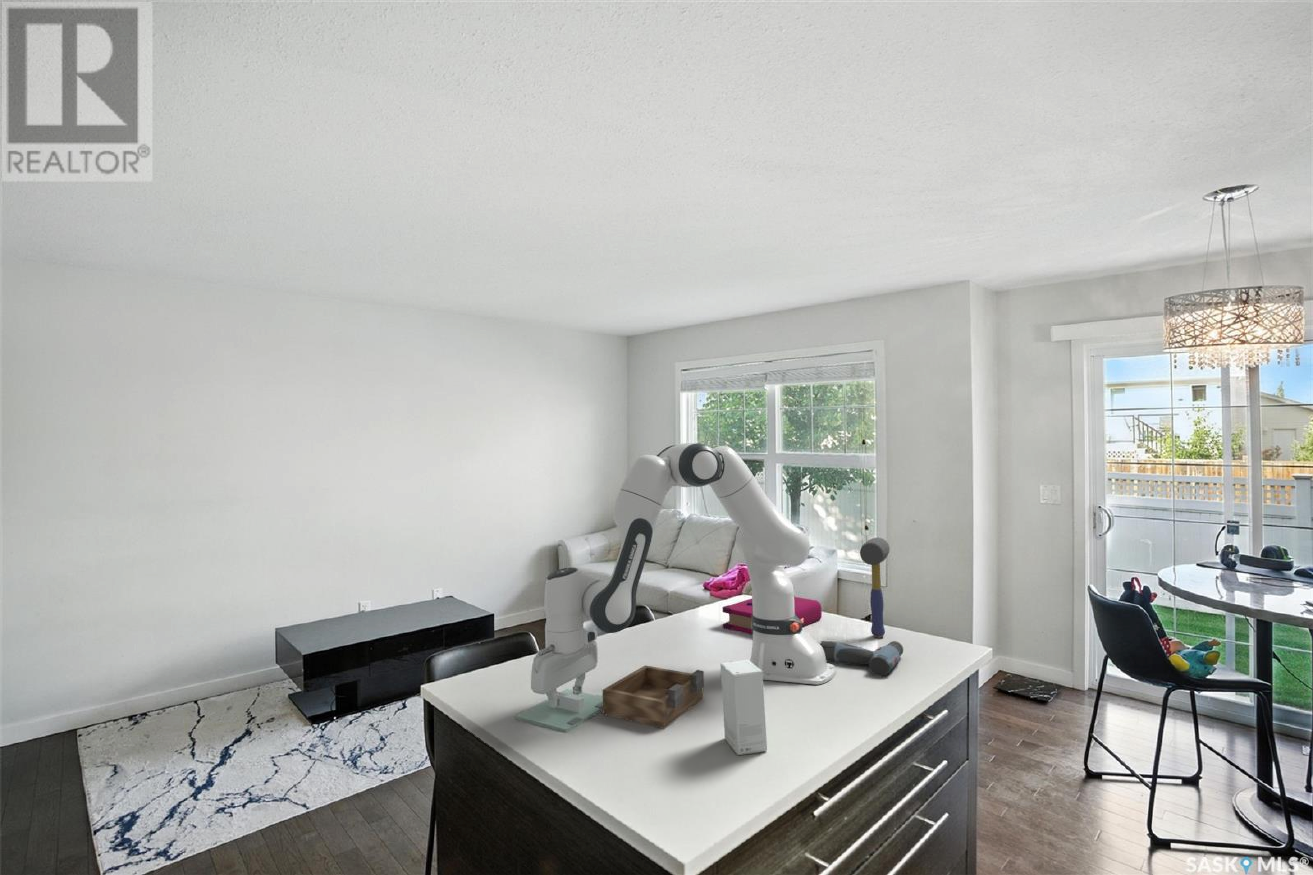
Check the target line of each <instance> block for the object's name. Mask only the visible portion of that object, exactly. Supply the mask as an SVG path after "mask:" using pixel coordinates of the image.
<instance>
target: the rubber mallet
mask: <svg viewBox="0 0 1313 875" xmlns="http://www.w3.org/2000/svg"><path fill="white" fill-rule="evenodd" d="M859 551H860V552H859V556H860V558H861V560H862V561H863V562H864V563H865V564H867V565H869V566H871V591H870V600H869V601H870V611H871V628H870V633H871V634H872V636H873V637H874V638H879V639H881V638H883V637H884V635H885V633H886V630H885V625H884V606H885V604H884V595H883V591H882V581H881V563H883V562H884V561H885V560H886V559H887V557H888V556H889V553H890V545H889V543H888V541H886V539H884V538H882V537H873V538H870V539H868V540H866V541H865V542H864V544H862V546H861V548H860V550H859Z"/></svg>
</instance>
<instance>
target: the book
mask: <svg viewBox="0 0 1313 875" xmlns="http://www.w3.org/2000/svg"><path fill="white" fill-rule="evenodd" d="M794 609H795V615H796V616H797V617H798V618H799V619H800V620H801V619H802V618H804V619H803V621H804V622H803V623H802V628H803V627H805V626H808V625H810V624H813V623H816V622H817V621H820V620H821V619H822V617H823V616H822V614H823V613H822V612H823V611H822V610H823V609H822V604H821V603H820V601H819V600H815V599H812V598H811V599H810V598H803V597H798V596H794ZM721 610H722V612H723V613H725V614H728V616H729V618H728V621H727V622H724V623H722V627H723V629H726V630H730V631H735V632H739V633H744V634H748V635H752V629H751V616H752V614H753V604H752V597H751V598H749V599H745V600H743V601H739V602H736V603H733V604H729V605H724V606H722V609H721Z"/></svg>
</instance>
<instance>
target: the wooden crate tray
mask: <svg viewBox="0 0 1313 875" xmlns="http://www.w3.org/2000/svg"><path fill="white" fill-rule="evenodd" d="M704 673H705V672H704V670H699V669H697V670H695V671H694V672H692V673H689V672H684V671H679V670H672V669H668V668H661V667H656V666H651V665H650V666H649V665H646V664H645V665H644V666H642V667H640V668H638V669H636V670H633V671H632V672H631V673H629V674H627V675H626V676H624V677H622V678H620V679H619V680H617V681H615V682H613V683H612V684H610V685H608V686H607V687H605V688H603V689H602V697H603V710H602V711H603V713H602V714H603V715H605V714H607V715H606V716H609V715H611V716H610V717H613V716H614V718H618V719H622V720H626V719H628V720H627V721H630V720H631V721H630V722H635V723H639V724H643V723H644V724H643V725H647V724H648V726H653V727H657V728H661V729H665V728H667V727H668V726H669V725H670V723H671V724H672V723H673V722H674V721H676V720H677V719H679V718H680V717H681V716H682V715H685V713H687V711H688V710H690V709H691V708H693V707H695V705H697V704H698V703H700V701H702V700H703V698H704V697H703V689H704V688H705V679H704V678H705V676H704V675H705V674H704Z"/></svg>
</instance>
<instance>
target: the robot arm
mask: <svg viewBox="0 0 1313 875" xmlns="http://www.w3.org/2000/svg"><path fill="white" fill-rule="evenodd" d="M675 486H676V487H680V488H691V487H693V488H696V487H697V488H701V487H705V486H709V487H711V489H712V491H713V493H714V495H715V496H716V497H717V500H718V501H719V502H720V504H721V505H722V507H723V508H724V510H725V511H726V513H727V515H728V516H729V518H730V519H731V521H733V522H734V523H735V524H736V525H738V526H739V528H738V530H737V531H736V533H735V534H736V535H735V542H736V543H735V544H736V547H737V548H738V550H739V551H740V552H741V555H742V556H743V560H744V563H745V565H746V570H747V573H748V576H749V581H750V587H751V598H752V604H753V614H752V616H751V629H752V634H751V635H752V647H751V651H750V652H751V654H750V659H749V661H750V662H752V663H753V664H754V665H755V666H756V667H758V668H759V669H760V670H761V671H763V681H764V680H766V681H776V682H785V683H786V682H787V683H797V684H807V685H821V684H824V683H827V682H829V681H830V680H832V679H833V678H834V676H835V675H836V667H835V665H834V664H831V663H827V662H828V661H827V660H826V657H825V653H824V650H823V648H822V646H821V645H820V643H818V642H817V640H815V639H814V638H812V637H811V636H810V635H808V633H806V632H805V631H804V630H803V627H802V623H803V622H804V621H803V619H804V618H802V619H801V620H800V619H799V618H798V617H797V616H796V615H795V609H794V597H795V589H794V584H793V582H792V581H791V579H790V578H789V576H788V575H787V572H786V569H785V568H789V567H790V568H791V567H792V568H793V567H798V566H801V565H802V564H803V563H804V562H806V561H807V559H808V557H809V555H810V550H811V546H810V545H811V544H810V539H809V537H808V535H807V534H806V533H805V532H804V531H802V530H801V529H799V528H798V527H797V526H795V525H794V523H792V522H791V521H790V520H789V519H788V518H787V517H786V516H785V515H784V514H783V513H782V511H780V509H779V507H777V506H776V505H775V504H774V503H773V502H772V500H770V499H769V497H768V496H767V494H766V493H765V492H764V490H763V489H762V487H761V486H760V484H759V482H758V481H757V479H756V477H755V476H754V474H753V473H752V471H751V470H750V468H749V466H748V465H747V464H746V463H745V462H744V460H743V459H742V458H741V456H740V455H739V454H738V453H737V452H736V451H735V450H734V449H733V448H731V447H730V446H727V445H720V446H716V447H714V448H713V447H711V446H710V445H708V444H707V445H706V444H703V443H699V442H698V443H697V442H696V443H691V442H690V443H687V442H685V443H684V442H682V443H680V444H674V445H669V446H667V447H665V448H664V449H662V450H661V451H660V452H659V453H658V454H656V455H653V454H644V455H640V456H639V457H638V458H637V459H636V460H635V461H634V463H633V464H632V466H631V467H630V469H629V471H628V473H627V474H626V477H625V479H624V480H623V483H622V484H621V487H620V489H619V492H618V494H617V496H616V499H615V502H614V507H613V512H612V519H613V521H614V523H615V526H616V528H617V529H618V532H619V535H620V548H619V549H620V550H619V553H618V555H617V558H616V562H615V563H614V564H615V565H614V567H613V571H612V574H611V576H610V579H609V580H607V579H605V578H601V577H600V578H599V577H595V576H592V575H589V574H586V573H585V572H582V571H581V570H579V569H578V568H577V567H571V566H570V567H564V568H560V569H557V570H555V571H552V573H550V574H549V575H548V576H547V577H546V581H545V584H544V598H543V599H544V600H543V601H544V602H543V603H544V604H543V605H544V606H543V607H544V608H543V609H544V612H545V617H546V618H545V619H546V620H545V626H544V636H545V637H544V638H545V640H544V641H545V648H543V649H539V650H538V651H537V653H536V655H535V656H534V657H533V662H532V666H531V672H530V674H531V675H530V689H531V690H532V692H533V693H535V694H539V695H546V697H547V699H548V698H549V704H550V707H552V708H556V707H557V706H559V705H560V703H559V701H560V698H557V697H556V695H555V693H556V691H557V689H558V688H560V687H562V686H563V685H566V684H567V683H569V682H571V681H573V680H574V679H575V682H574V685H572V690H573V694H575V695H579V694H581V693H582V692H583V685H584V682H585V679H586V673H589V672H591V671H593V670H595V669H596V667H597V664H598V662H599V661H598V660H599V656H598V654H599V653H598V652H599V651H598V643H597V639H598V631H597V630H595V629H594V630H593V629H589V628H584V624H585V622H586V621H592V623H593V624H595V626H596V627H597V628H598V629H599V630H600V631H602V632H603V633H608V634H615V633H616V634H617V633H619V632H621V631H623V630H624V629H626V628H627V627H628V626H630V624H632V621H633V620H634V618H635V614H636V610H637V591H638V586H639V584H640V580H641V576H642V573H643V570H644V567H645V563H646V560H647V557H648V553H649V550H650V546H651V543H652V539H653V535H654V529H655V526H656V522H657V520H658V517H659V515H660V512H661V509H662V506H663V504H664V502H665V499H666V496H667V494H668V492H669V491H670V490H671V489H672V487H675Z"/></svg>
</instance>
